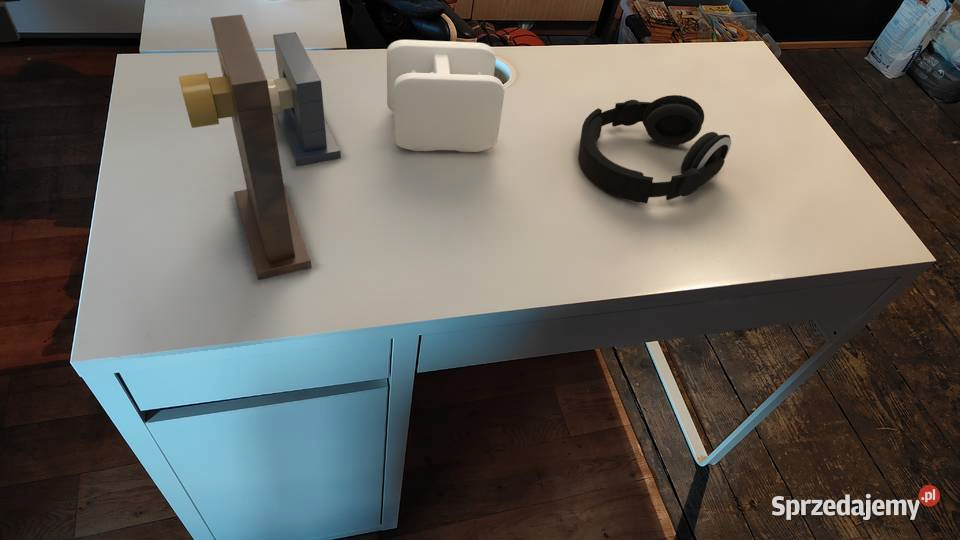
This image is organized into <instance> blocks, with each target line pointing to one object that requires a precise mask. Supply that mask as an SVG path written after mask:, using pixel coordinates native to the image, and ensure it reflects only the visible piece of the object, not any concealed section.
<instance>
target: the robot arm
mask: <svg viewBox="0 0 960 540" xmlns="http://www.w3.org/2000/svg"><path fill="white" fill-rule="evenodd" d="M11 2H12V3H13V2H21V0H0V43H7V42H18V41H19V42H20V38H21V37H20V34H19V30H18V29H17V26H16V24H15V22H14V20H13V17H12V14H11V13H10V11H9V8H8V6H7V4H6V3H11Z"/></svg>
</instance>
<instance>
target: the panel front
mask: <svg viewBox="0 0 960 540" xmlns="http://www.w3.org/2000/svg"><path fill="white" fill-rule="evenodd" d="M210 23H211V28H212V32H213V38H214V41H215V47H216V51H217V55H218V56H217V57H218V60H219V65H220V69H221V75H222V77H223V76H226V77H227V81H228V84H229V87H230V91H231V96H232V100H233V105H234V110H235V115H236V116H233V117H231V120H232V125H233V131H234V135H235V140H236V144H237V150H238V154H239V158H240V163H241V167H242V172H243V177H244V181H245V186H246V187H245V189H241V190H237V191H236V190H235V191H234V192H233V193H234V197H235V201H236V205H237V210H238V212H239V216H240V220H241V223H242V226H243V230H244V234H245V238H246V242H247V246H248V249H249V253H250V256H251V260H252V263H253V267H254V270H255V274H256V278H257V281H258V280H259V281H260V280H263V279H267V278H273V277H276V276H280V275H284V274H285V275H286V274H289V273H293V272H297V271H298V272H299V271H301V270H302V271H303V270H307V269H311V268H312V267H313V266H312V260H311V257H310V253H309V251H308V249H307V245H306V242H305V240H304V237H303V234H302V231H301V228H300V225H299V223H298V220H297V216H296V214H295V210H294V208H293V205H292V202H291V199H290V197H289V194H288V191H287V188H286V185H285V183H284V182H285V181H284V177H283V170H282V165H281V164H282V163H281V159H280V152H279V146H278V145H279V144H278V138H277V132H276V125H275V120H274V115H273V113H272V107H271V100H270V94H269V88H268V82H267V78H266V77H267V76H266V73H265V71H264V68H263V66H262V63H261V60H260V58H259V55H258V52H257V49H256V47H255V45H254V41H253V39H252V36H251V34H250V31H249V29H248V25H247V23H246V21H245V17H244V15H243V14H235V15H234V14H233V15H223V16H222V15H221V16H213V17H210Z"/></svg>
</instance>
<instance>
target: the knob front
mask: <svg viewBox="0 0 960 540" xmlns="http://www.w3.org/2000/svg"><path fill="white" fill-rule="evenodd" d="M178 80H179V85H180V89H181V93H182V97H183V101H184V105H185V108H186V112H187V116H188V119H189V120H188V121H189V123H190V126H191V128H192V129H194V128H202V127H209V126H215V125H219V124H220V121H219V120H220V119H227V118H232V117H233V116H236V115H235V110H234V105H233V100H232V96H231V91H230V87H229V84H228V81H227V77H226V76H223V75H222V76H215V77H208V73H207V72H203V73H202V72H201V73H195V74H185V75H179V76H178Z"/></svg>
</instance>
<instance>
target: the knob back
mask: <svg viewBox="0 0 960 540" xmlns="http://www.w3.org/2000/svg"><path fill="white" fill-rule="evenodd" d="M266 78H267V82H268V88H269V94H270V100H271V107H272V113H273V116H275V114H280V113H281V110H282V109H288V108H294V104H293V96H292V89H291V86H290V83H289V81H288V79H287V78H281V79H279V78H274V77H273V75H267V76H266Z"/></svg>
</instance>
